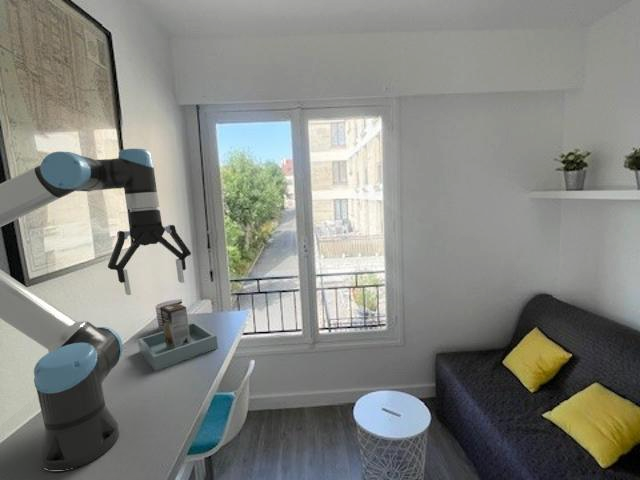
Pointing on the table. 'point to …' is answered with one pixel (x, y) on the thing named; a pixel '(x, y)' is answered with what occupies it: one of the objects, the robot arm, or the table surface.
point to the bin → (164, 357)
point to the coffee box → (175, 325)
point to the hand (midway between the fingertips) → (156, 287)
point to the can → (160, 311)
